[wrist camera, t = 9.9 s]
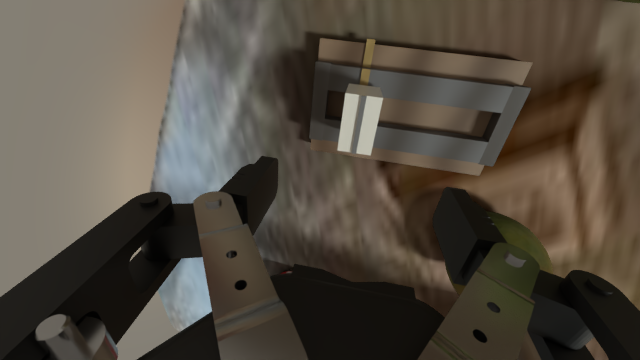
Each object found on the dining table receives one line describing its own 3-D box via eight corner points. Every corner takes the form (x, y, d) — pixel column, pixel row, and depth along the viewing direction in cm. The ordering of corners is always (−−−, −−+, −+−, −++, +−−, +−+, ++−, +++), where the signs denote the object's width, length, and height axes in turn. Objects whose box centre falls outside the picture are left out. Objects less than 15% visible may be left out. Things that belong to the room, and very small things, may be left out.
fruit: (464, 277, 40) (492, 343, 31) (410, 230, 37) (424, 289, 29) (542, 239, 35) (600, 306, 26) (485, 182, 32) (530, 235, 23)
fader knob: (379, 84, 26) (383, 98, 20) (369, 130, 29) (370, 156, 22) (350, 80, 26) (345, 93, 20) (343, 127, 29) (337, 151, 23)
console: (523, 56, 25) (547, 59, 22) (473, 168, 31) (485, 183, 28) (323, 33, 27) (317, 33, 23) (313, 143, 33) (307, 155, 30)
